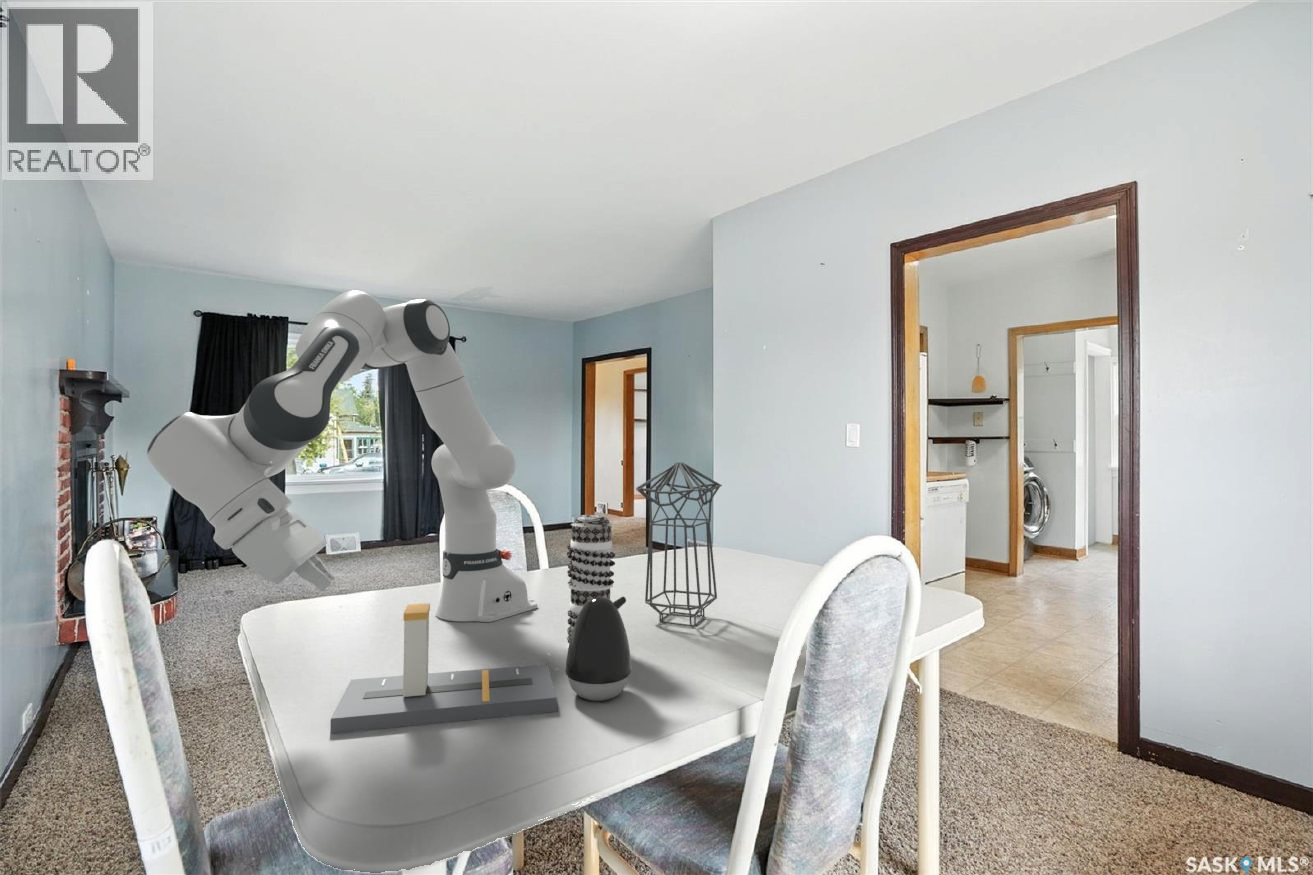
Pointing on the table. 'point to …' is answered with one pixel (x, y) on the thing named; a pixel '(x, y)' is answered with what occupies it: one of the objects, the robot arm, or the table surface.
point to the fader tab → (416, 649)
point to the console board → (445, 698)
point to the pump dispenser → (599, 651)
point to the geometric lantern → (667, 477)
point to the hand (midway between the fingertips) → (329, 585)
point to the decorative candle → (589, 563)
